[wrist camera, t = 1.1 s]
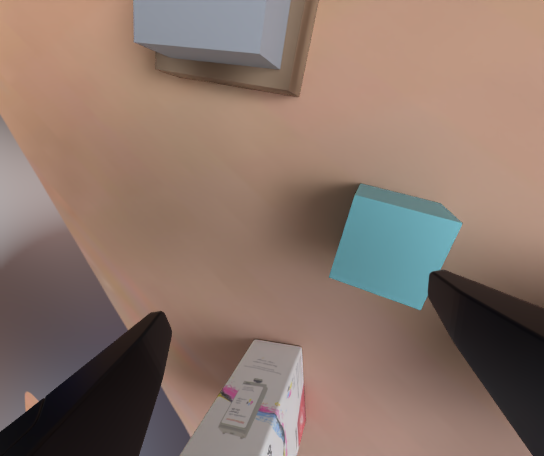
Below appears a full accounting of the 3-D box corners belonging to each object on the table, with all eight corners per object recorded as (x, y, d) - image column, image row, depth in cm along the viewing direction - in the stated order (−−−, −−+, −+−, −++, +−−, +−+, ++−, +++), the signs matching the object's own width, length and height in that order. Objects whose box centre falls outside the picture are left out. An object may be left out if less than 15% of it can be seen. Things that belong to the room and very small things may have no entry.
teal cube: (440, 203, 17) (462, 223, 12) (410, 271, 19) (420, 310, 14) (360, 183, 18) (354, 194, 14) (340, 248, 20) (328, 277, 16)
